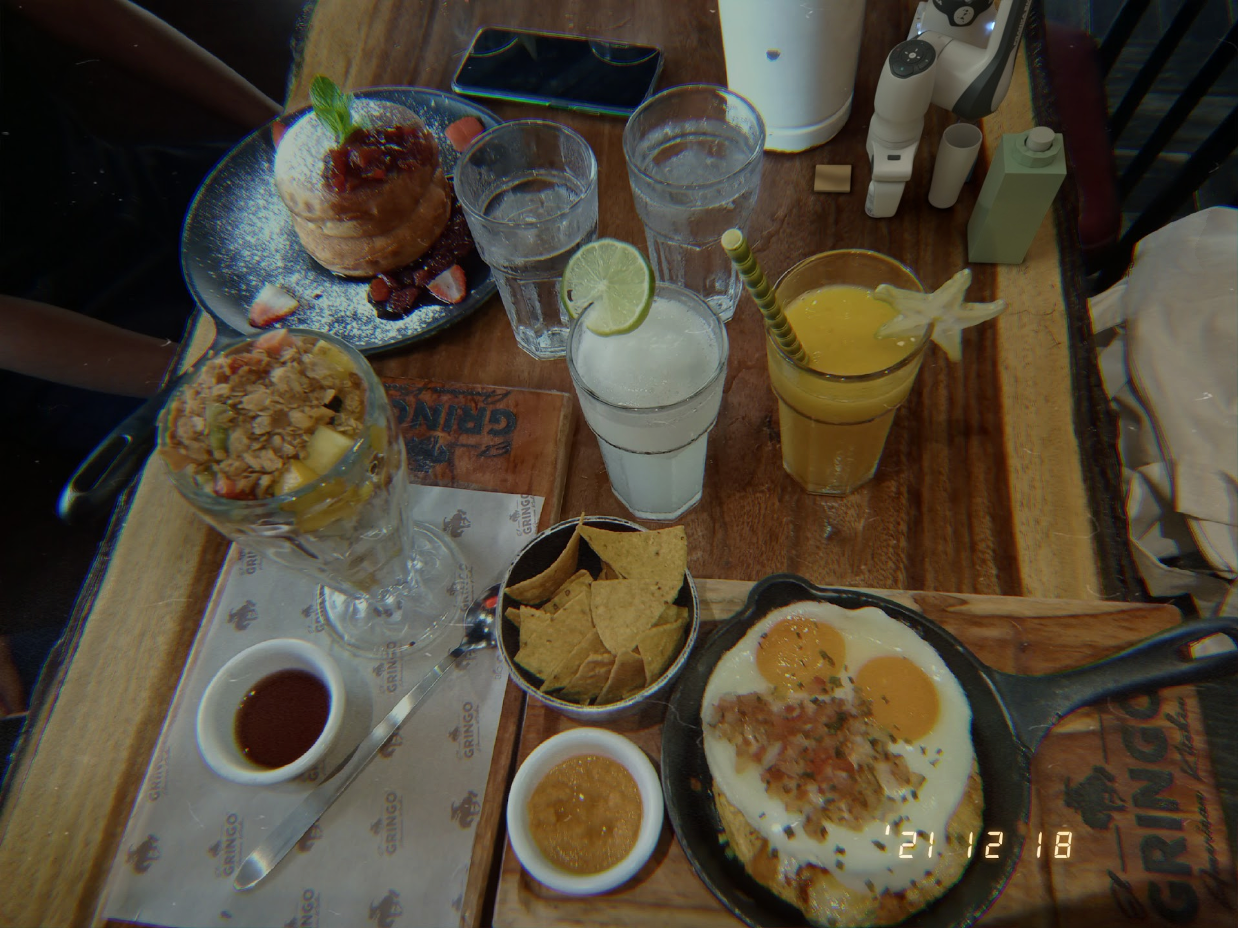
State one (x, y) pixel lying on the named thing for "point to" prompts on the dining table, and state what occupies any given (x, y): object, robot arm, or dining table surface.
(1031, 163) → the dispenser
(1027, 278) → the dining table surface
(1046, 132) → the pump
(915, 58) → the robot arm
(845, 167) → the mat
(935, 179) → the drinking glass
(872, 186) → the pill bottle
